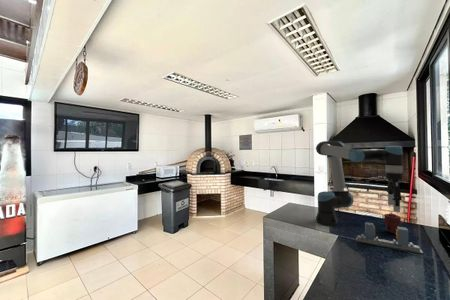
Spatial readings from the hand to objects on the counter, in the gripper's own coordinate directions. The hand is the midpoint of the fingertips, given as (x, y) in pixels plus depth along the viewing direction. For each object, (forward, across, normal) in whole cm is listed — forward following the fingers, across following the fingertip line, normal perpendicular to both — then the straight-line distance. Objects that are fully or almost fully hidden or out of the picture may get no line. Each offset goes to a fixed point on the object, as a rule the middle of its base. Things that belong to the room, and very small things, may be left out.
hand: (393, 208), depth 113 cm
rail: (+22, +2, -4) cm, 23 cm away
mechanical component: (+23, -22, +4) cm, 32 cm away
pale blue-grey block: (+20, +2, +4) cm, 20 cm away
